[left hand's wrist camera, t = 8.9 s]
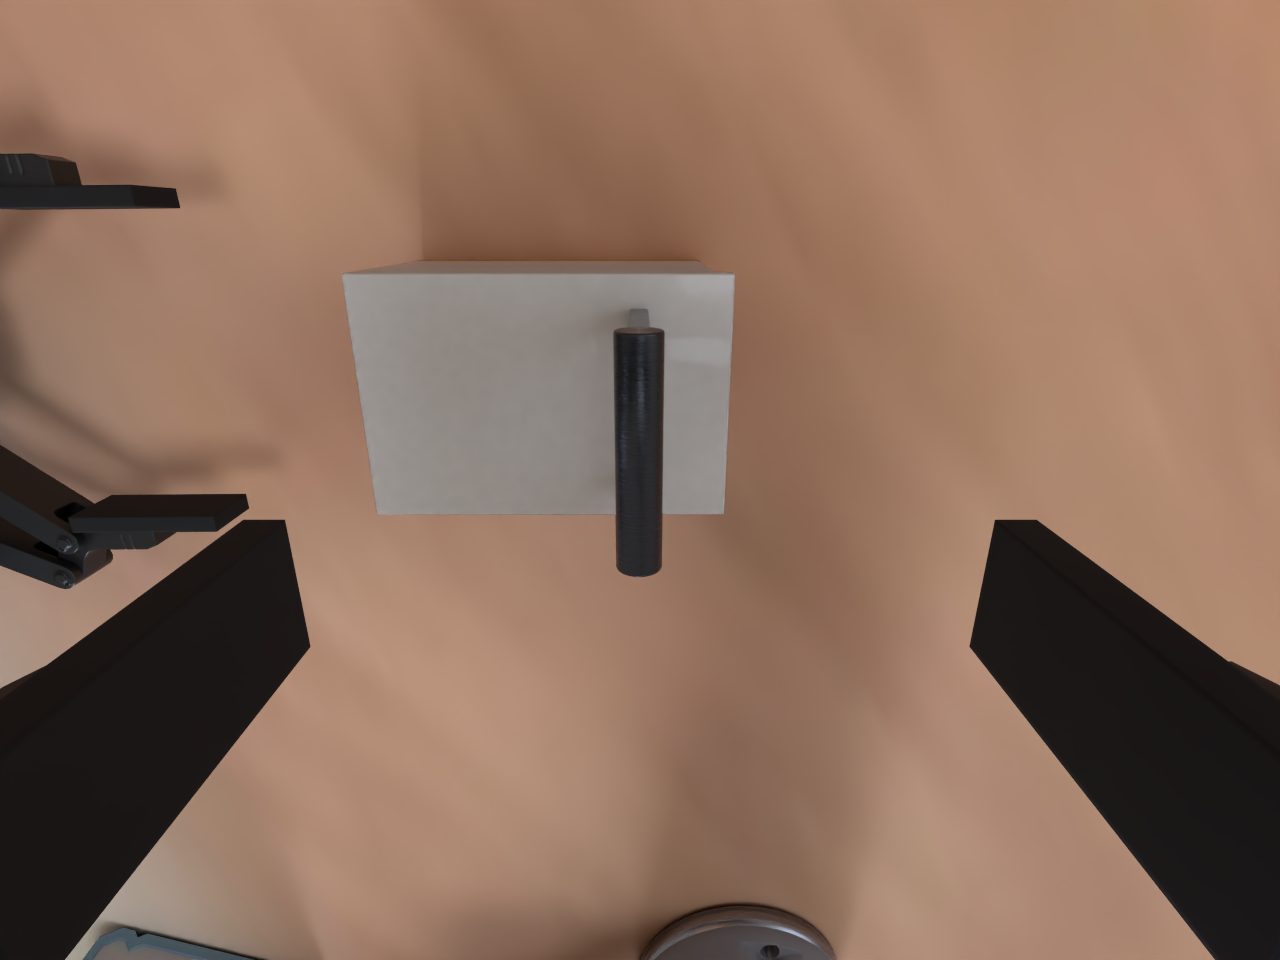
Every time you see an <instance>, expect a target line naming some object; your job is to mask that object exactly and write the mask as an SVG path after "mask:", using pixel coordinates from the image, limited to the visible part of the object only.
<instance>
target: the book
mask: <svg viewBox="0 0 1280 960" xmlns="http://www.w3.org/2000/svg"><path fill="white" fill-rule="evenodd" d="M83 960H253V959H249V958H245V957H241V956H237V955H232V954H228V953H224V952H220V951H216V950H212V949H208V948H204V947H200V946H196V945H192V944H188V943H184V942H179V941H175V940H171V939H167V938H163V937H159V936H155V935H151V934H145V935H143V936H140V937H137V934H136V932H135V930H131V929H126V928H121V929H118V930H115V931H113V932H110V933H108V934H105V935H102V936H100V938H99V939H98V940H97V942H96V943H95V944H94V945H93V947H92V948H91V949H90V951H89V952H88V953H87V955H86V956H85V957H84V959H83Z"/></svg>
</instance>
